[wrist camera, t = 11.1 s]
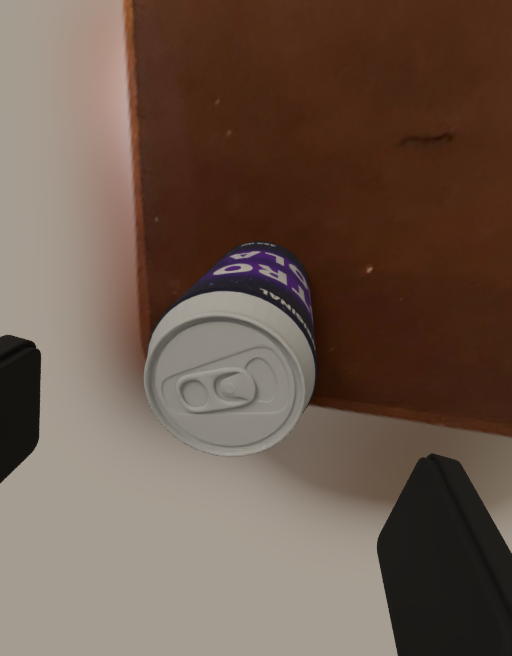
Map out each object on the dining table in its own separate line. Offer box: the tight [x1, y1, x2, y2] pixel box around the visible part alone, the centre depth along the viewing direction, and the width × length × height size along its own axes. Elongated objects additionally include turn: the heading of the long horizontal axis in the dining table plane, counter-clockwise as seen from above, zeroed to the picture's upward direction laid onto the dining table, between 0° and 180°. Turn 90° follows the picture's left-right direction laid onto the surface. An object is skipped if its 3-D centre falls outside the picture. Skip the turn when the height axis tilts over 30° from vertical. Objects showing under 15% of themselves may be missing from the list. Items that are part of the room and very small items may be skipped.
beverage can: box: [144, 241, 318, 457], centre depth 17 cm, size 6×6×12 cm
